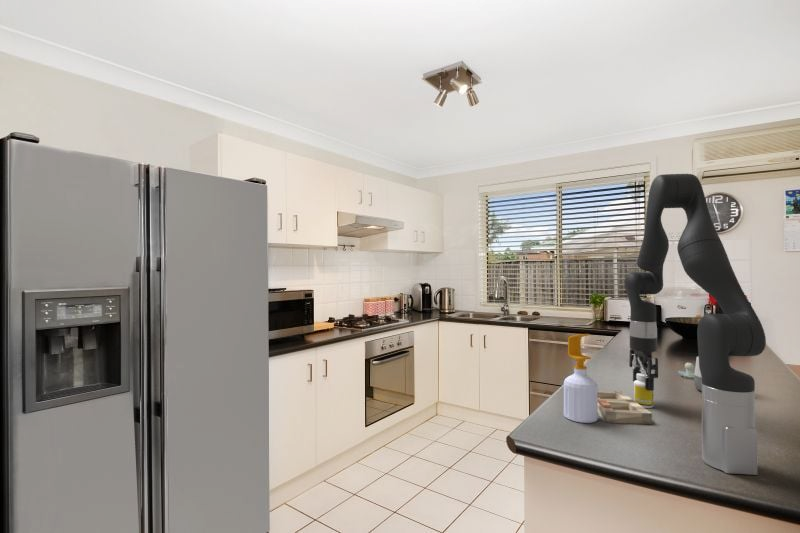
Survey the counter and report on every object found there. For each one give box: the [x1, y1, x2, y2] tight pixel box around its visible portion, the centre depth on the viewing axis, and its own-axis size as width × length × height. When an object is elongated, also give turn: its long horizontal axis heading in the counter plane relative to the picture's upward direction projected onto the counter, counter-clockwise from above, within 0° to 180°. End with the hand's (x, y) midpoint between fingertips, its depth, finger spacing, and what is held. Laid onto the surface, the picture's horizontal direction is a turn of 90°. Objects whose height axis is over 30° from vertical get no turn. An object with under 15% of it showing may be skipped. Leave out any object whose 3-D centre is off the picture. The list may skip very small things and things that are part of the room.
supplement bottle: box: [633, 372, 654, 409], centre depth 132 cm, size 5×5×10 cm
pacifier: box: [678, 362, 695, 380], centre depth 166 cm, size 7×6×6 cm
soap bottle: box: [563, 333, 599, 424], centre depth 121 cm, size 9×9×25 cm
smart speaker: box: [693, 356, 702, 393], centre depth 146 cm, size 10×9×14 cm
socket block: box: [598, 390, 653, 425], centre depth 127 cm, size 21×12×4 cm, turn 173°
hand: (642, 386), depth 132 cm, fingers open, 8 cm apart
